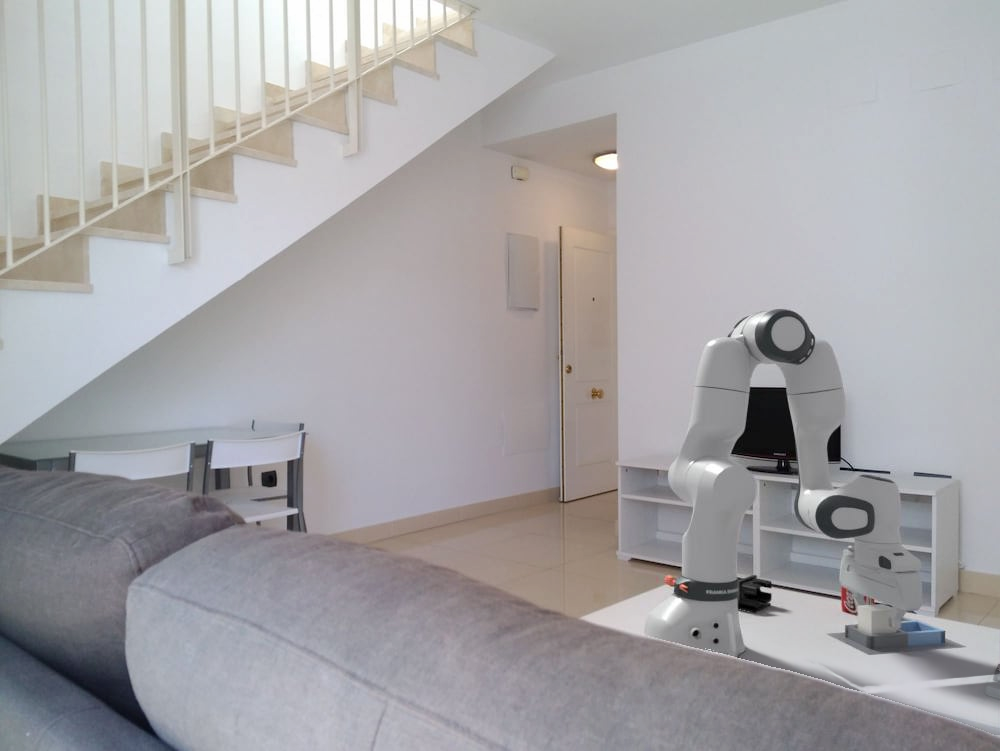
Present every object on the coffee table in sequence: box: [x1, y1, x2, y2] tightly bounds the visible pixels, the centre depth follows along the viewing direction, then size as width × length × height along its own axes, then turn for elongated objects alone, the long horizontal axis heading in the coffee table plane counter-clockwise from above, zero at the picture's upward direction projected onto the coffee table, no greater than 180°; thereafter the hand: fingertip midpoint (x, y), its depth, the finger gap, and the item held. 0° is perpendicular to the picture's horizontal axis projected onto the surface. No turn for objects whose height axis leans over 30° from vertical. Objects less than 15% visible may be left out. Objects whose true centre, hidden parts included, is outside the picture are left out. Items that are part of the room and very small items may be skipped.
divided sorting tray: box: [826, 619, 967, 656], centre depth 160 cm, size 23×13×4 cm, turn 103°
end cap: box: [738, 574, 772, 614], centre depth 187 cm, size 10×7×7 cm
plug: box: [857, 603, 897, 635], centre depth 159 cm, size 6×4×7 cm, turn 103°
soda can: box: [840, 586, 875, 616], centre depth 180 cm, size 7×7×12 cm
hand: (878, 620), depth 159 cm, fingers open, 8 cm apart
